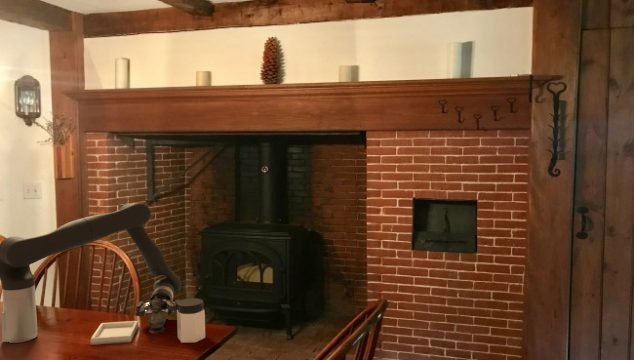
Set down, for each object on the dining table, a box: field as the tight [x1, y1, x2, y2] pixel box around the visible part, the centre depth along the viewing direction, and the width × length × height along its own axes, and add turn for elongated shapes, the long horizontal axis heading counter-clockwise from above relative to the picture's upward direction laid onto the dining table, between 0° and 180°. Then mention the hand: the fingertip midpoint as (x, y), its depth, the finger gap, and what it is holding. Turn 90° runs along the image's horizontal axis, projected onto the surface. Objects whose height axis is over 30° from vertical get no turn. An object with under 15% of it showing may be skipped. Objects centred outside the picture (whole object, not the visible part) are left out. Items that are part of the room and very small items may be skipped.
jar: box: [176, 298, 206, 343], centre depth 170 cm, size 9×8×12 cm
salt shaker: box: [147, 296, 167, 334], centre depth 177 cm, size 6×6×12 cm
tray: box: [90, 320, 139, 346], centre depth 173 cm, size 12×14×2 cm
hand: (155, 313), depth 175 cm, fingers open, 8 cm apart
